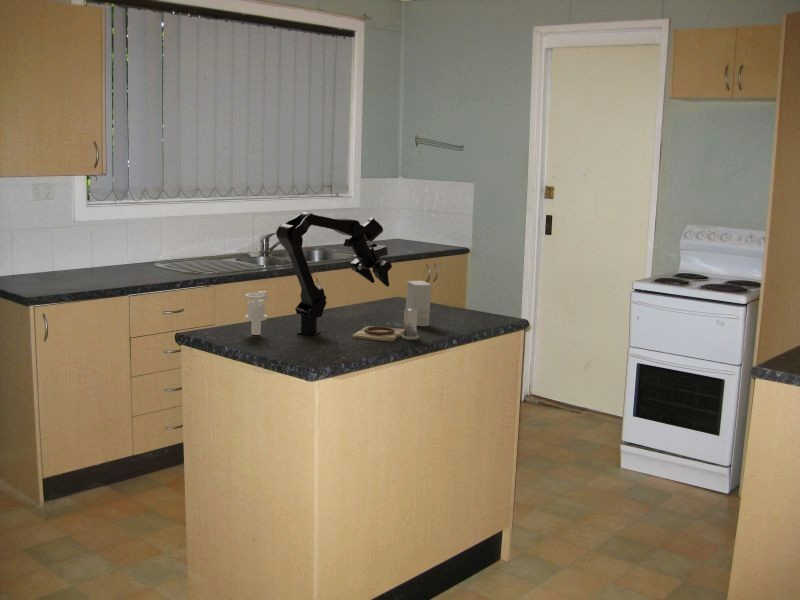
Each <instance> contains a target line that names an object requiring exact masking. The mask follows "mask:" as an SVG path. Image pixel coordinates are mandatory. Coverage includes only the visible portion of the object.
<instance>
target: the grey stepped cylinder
mask: <svg viewBox="0 0 800 600" xmlns="http://www.w3.org/2000/svg"><path fill="white" fill-rule="evenodd" d="M267 292H268V291H266V290H264V291H263V290H259V291H258V292H249V293H246V294H245V296H244V297H245V300H249V301H248V302H247V314H246V315H245V321H248V322H251V335H252V334H253V335H260V334H261V335H262V333H261V329H262V324H261V323H262V322H264V321H266V320H268V315H267V314H265V303H267V302H268V301H267V299H268V293H267ZM261 335H260V336H261Z"/></svg>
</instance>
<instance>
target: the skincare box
mask: <svg viewBox="0 0 800 600" xmlns="http://www.w3.org/2000/svg"><path fill="white" fill-rule="evenodd" d="M431 296H432V284H430V283H428V282H427V281H424V280H407V281H406V297H405V298H406V299H405V309H406V308H415V309H417V326H421V327H429V326H430V312H431Z"/></svg>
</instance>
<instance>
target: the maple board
mask: <svg viewBox="0 0 800 600" xmlns="http://www.w3.org/2000/svg"><path fill="white" fill-rule="evenodd" d="M402 334H404V328H394V327H393V328H392V327H389V326H381V325H380V326H379V325H377V326H373V325H367V326H366V327H363V328H362V329H360V330H359V331H357V332H354V333H353V334H352V335H351V339H357V338H358V339H359V340H368V341H369V340H370V341H377V340H378V341H377V342H379V341H380V342H388V343H392V342H394V341H395V340H397V339H398V338H399V337H401V335H402Z"/></svg>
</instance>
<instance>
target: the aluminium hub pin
mask: <svg viewBox="0 0 800 600" xmlns="http://www.w3.org/2000/svg"><path fill="white" fill-rule="evenodd" d="M403 329H404V334H402V335H401V336H400V337H401V338H402V339H401V340H404V339H405V341H417V339H418V340H419V339H420V335H419V334H418V333H417V331H418V327H417V309H415V308H406V307H405V308H404V311H403Z"/></svg>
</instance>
